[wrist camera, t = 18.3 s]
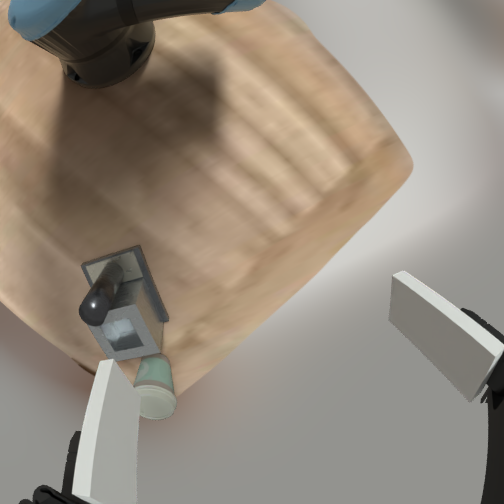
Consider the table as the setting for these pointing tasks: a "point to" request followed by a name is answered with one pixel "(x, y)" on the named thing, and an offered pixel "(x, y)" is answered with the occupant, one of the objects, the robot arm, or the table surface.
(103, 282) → the black tapered cylinder
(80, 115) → the table surface
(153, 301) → the square frame housing
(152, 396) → the coffee cup
